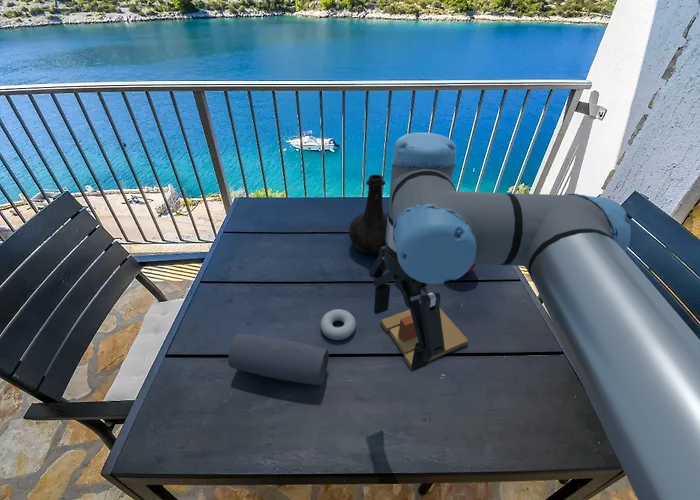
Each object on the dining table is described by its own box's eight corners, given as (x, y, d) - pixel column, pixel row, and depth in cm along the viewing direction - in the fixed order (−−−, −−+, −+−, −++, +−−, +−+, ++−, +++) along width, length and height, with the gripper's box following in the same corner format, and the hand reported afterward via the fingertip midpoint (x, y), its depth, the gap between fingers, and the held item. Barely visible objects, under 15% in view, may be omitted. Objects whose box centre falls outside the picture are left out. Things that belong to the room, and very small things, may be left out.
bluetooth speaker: (329, 362, 90) (328, 339, 84) (320, 396, 83) (317, 373, 77) (248, 347, 94) (240, 323, 87) (232, 378, 87) (223, 354, 80)
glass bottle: (392, 266, 120) (400, 194, 102) (342, 256, 123) (341, 186, 106) (401, 236, 133) (409, 168, 115) (356, 228, 137) (357, 162, 119)
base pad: (467, 344, 95) (468, 340, 93) (410, 369, 89) (411, 365, 88) (432, 304, 106) (433, 300, 105) (380, 324, 100) (381, 319, 99)
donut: (351, 346, 94) (359, 317, 102) (351, 338, 92) (359, 309, 100) (316, 339, 96) (326, 311, 104) (315, 331, 94) (325, 303, 101)
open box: (429, 345, 94) (434, 324, 89) (404, 355, 92) (407, 335, 86) (413, 324, 100) (417, 303, 95) (389, 333, 97) (391, 312, 92)
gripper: (491, 291, 43) (458, 386, 56) (391, 199, 61) (383, 287, 74) (441, 310, 40) (418, 404, 53) (352, 208, 58) (351, 297, 71)
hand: (398, 336), depth 64 cm, fingers open, 13 cm apart
